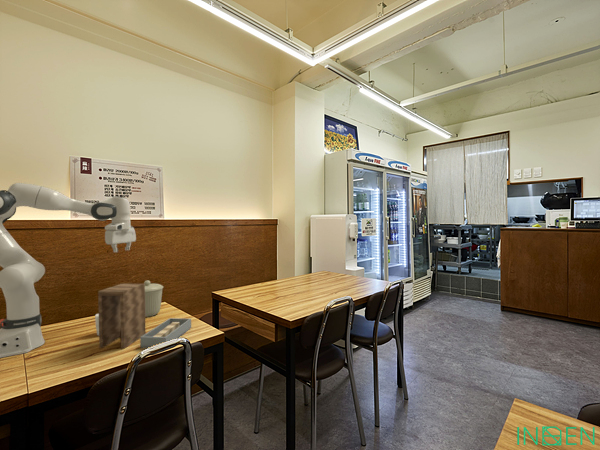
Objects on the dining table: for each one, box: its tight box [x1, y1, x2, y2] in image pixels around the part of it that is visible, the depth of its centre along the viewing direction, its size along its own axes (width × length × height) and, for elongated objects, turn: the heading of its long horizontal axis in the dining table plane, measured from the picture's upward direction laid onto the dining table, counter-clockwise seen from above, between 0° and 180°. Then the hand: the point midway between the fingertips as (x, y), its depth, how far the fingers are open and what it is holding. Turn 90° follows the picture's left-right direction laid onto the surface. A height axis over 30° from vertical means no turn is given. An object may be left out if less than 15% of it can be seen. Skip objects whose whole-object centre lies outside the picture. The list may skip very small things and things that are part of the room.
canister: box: [143, 280, 164, 318], centre depth 182 cm, size 18×18×21 cm
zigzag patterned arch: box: [97, 283, 147, 350], centre depth 143 cm, size 16×12×26 cm
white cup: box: [94, 313, 99, 337], centre depth 153 cm, size 8×8×10 cm
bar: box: [153, 322, 179, 337], centre depth 146 cm, size 20×4×4 cm, turn 177°
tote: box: [139, 317, 192, 349], centre depth 147 cm, size 26×12×5 cm, turn 175°
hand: (121, 251), depth 163 cm, fingers open, 8 cm apart
